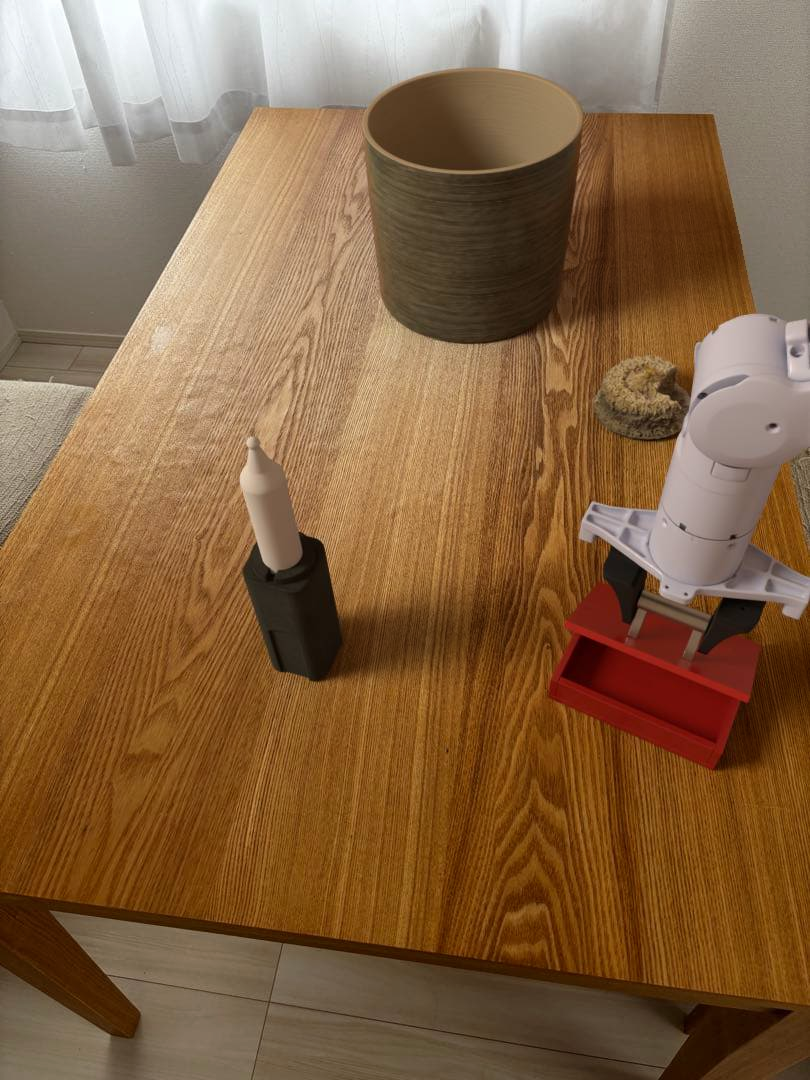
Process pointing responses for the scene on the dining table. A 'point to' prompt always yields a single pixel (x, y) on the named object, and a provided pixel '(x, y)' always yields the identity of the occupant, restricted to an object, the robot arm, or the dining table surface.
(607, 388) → the cake
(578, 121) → the planter
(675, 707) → the red box base
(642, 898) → the dining table surface
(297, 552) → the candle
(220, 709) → the dining table surface
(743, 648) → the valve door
